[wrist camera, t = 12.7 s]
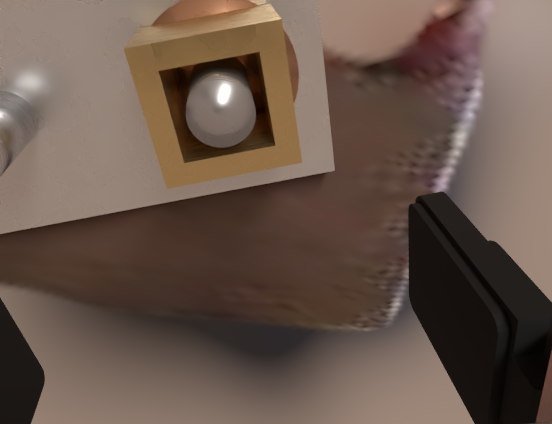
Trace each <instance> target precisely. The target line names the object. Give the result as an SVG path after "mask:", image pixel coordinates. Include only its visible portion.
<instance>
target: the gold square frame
mask: <svg viewBox="0 0 552 424" xmlns="http://www.w3.org/2000/svg"><path fill="white" fill-rule="evenodd" d="M124 52H125V55H126V59H127V62H128V65H129V68H130V71H131V75H132V78H133V81H134V84H135V88H136V91H137V94H138V97H139V100H140V104H141V107H142V110H143V113H144V117H145V120H146V123H147V126H148V129H149V133H150V136H151V139H152V142H153V146H154V149H155V152H156V155H157V158H158V162H159V165H160V168H161V171H162V175H163V178H164V181H165V184H166V187H167V189H169V188H174V187H179V186H184V185H190V184H195V183H200V182H205V181H210V180H215V179H221V178H226V177H231V176H236V175H241V174H246V173H252V172H257V171H262V170H267V169H272V168H277V167H283V166H288V165H293V164H298V163H302V158H301V151H300V144H299V137H298V130H297V123H296V116H295V109H294V102H293V95H292V88H291V80H290V73H289V66H288V59H287V52H286V45H285V38H284V31H283V24H282V19H281V17H280V16H279V15H278V13H277V12H276V11H275V10H274V8H273V7H272V6H271V4H265V5H260V6H255V7H249V8H244V9H239V10H233V11H228V12H223V13H217V14H212V15H207V16H201V17H196V18H191V19H185V20H180V21H175V22H169V23H164V24H159V25H153V26H148V27H142V28H138V29H137V31H136V32H135V33H134V35H133V36H132V38H131V39H130V40H129V42H128V43H127V44H126V46H125V47H124ZM251 53H255V54H256V59H257V65H258V71H259V77H260V82H261V88H262V94H263V99H264V105H265V111H266V113H263V114H257V115H256V120H255V124H254V127H253V129H252V131H251V132H250V134H249V135H248V136H247V137H246V138H245V139H244V140H243V141H241V142H240V143H238V144H236V145H234V146H230V147H224V148H218V147H212V146H209V145H206V144H205V143H203V142H201V141H200V140H198V139H197V138H196V137H195V136H194V135H193V134H192V132H191V131H190V129H189V128H188V124H187V121H186V117H185V113H184V109H183V105H182V102H181V98H180V94H179V90H178V87H177V83H176V79H175V75H174V71H173V68H177V67H182V66H187V65H193V64H198V63H203V62H209V61H214V60H219V59H224V58H230V57H235V56H240V55H246V54H251Z"/></svg>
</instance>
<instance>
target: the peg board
mask: <svg viewBox="0 0 552 424" xmlns="http://www.w3.org/2000/svg"><path fill="white" fill-rule="evenodd" d="M265 4H271V6H272V7H273V8H274V10H275V11H276V12H277V13H278V15H279V16H280V17H281V19H282V24H283V31H284V38H285V45H286V52H287V59H288V66H289V73H290V80H291V88H292V95H293V102H294V109H295V116H296V123H297V130H298V137H299V144H300V151H301V158H302V163H298V164H293V165H288V166H283V167H277V168H272V169H267V170H262V171H257V172H252V173H246V174H241V175H236V176H231V177H226V178H221V179H215V180H210V181H205V182H200V183H195V184H190V185H184V186H179V187H174V188H169V189H167V187H166V184H165V181H164V178H163V175H162V171H161V168H160V165H159V162H158V158H157V155H156V152H155V149H154V146H153V142H152V139H151V136H150V133H149V129H148V126H147V123H146V120H145V117H144V113H143V110H142V107H141V104H140V100H139V97H138V94H137V91H136V88H135V84H134V81H133V78H132V75H131V71H130V68H129V65H128V62H127V59H126V55H125V52H124V47H125V46H126V44H127V43H128V42H129V40H130V39H131V38H132V36H133V35H134V33H135V32H136V31H137V29H138V28H142V27H148V26H153V25H159V24H164V23H169V22H175V21H180V20H185V19H191V18H196V17H201V16H207V15H212V14H217V13H223V12H228V11H233V10H239V9H244V8H249V7H255V6H260V5H265ZM173 71H174V75H175V79H176V83H177V87H178V90H179V94H180V98H181V102H182V105H183V109H184V113H185V117H186V121H187V124H188V128H189V129H190V131H191V132H192V134H193V135H194V136H195V137H196V138H197V139H198V140H200V141H201V142H203V143H205V144H206V145H209V146H212V147H218V148H224V147H230V146H234V145H236V144H238V143H240V142H241V141H243V140H244V139H245V138H246V137H247V136H248V135H249V134H250V132H251V131H252V129H253V127H254V124H255V120H256V115H257V114H263V113H266V111H265V105H264V99H263V94H262V88H261V82H260V77H259V71H258V65H257V59H256V54H255V53H251V54H246V55H240V56H235V57H230V58H224V59H219V60H214V61H209V62H203V63H198V64H193V65H187V66H182V67H177V68H173ZM331 171H335V169H334V159H333V149H332V139H331V129H330V119H329V109H328V98H327V88H326V78H325V68H324V58H323V48H322V38H321V28H320V18H319V8H318V0H0V234H3V233H8V232H14V231H19V230H24V229H29V228H35V227H40V226H45V225H51V224H56V223H61V222H66V221H72V220H77V219H82V218H88V217H93V216H98V215H103V214H109V213H114V212H119V211H125V210H130V209H135V208H140V207H146V206H151V205H156V204H161V203H167V202H172V201H177V200H183V199H188V198H193V197H198V196H204V195H209V194H214V193H220V192H225V191H230V190H235V189H241V188H246V187H251V186H257V185H262V184H267V183H272V182H278V181H283V180H288V179H294V178H299V177H304V176H309V175H315V174H320V173H325V172H331Z"/></svg>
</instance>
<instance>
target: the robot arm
mask: <svg viewBox="0 0 552 424" xmlns="http://www.w3.org/2000/svg"><path fill="white" fill-rule="evenodd" d="M409 297H410V302H411V305H412V308H413V310H414V312H415V314H416V315H417V317H418V319H419V321H420V323H421V325H422V327H423V329H424V330H425V332H426V334H427V336H428V338H429V340H430V342H431V343H432V345H433V347H434V349H435V351H436V352H437V354H438V356H439V358H440V360H441V362H442V364H443V366H444V368H445V369H446V371H447V373H448V375H449V377H450V379H451V381H452V382H453V384H454V386H455V388H456V390H457V392H458V393H459V395H460V397H461V399H462V401H463V403H464V405H465V406H466V408H467V410H468V412H469V414H470V416H471V418H472V419H473V421H474V423H475V424H552V302H551V301H550V300H549V299H548V298H547V297H546V296H545V295H544V293H542V291H541V290H540V289H539V288H538V287H537V286H536V285H535V284H534V282H532V280H531V279H530V278H529V277H528V276H527V275H526V274H525V273H524V272H523V270H521V268H520V267H519V266H518V265H517V264H516V263H515V262H514V261H513V259H512V258H511V257H510V256H509V255H508V254H507V253H506V252H505V251H504V250H503V249H502V247H501V246H500V245H498V244H497V243H496V242H494V241H487V240H486V239H485V237H484V236H483V235H482V234H481V233H480V232H479V231H478V230H477V228H475V226H474V225H473V224H472V223H471V222H470V220H469V219H468V218H467V217H466V216H465V215H464V214H463V213H462V211H461V210H460V209H459V208H458V207H457V206H456V205H455V204H454V202H452V200H451V199H450V198H449V197H448V196H447V194H446V193H444V192H437V193H432V194H427V195H422V196H418V197H417V198H416V203H414V204H410V205H409ZM44 378H45V377H44V371H43V369H42V367H41V365H40V363H39V362H38V360H37V358H36V357H35V355H34V354H33V352H32V350H31V349H30V347H29V345H28V343H27V342H26V340H25V338H24V337H23V335H22V333H21V332H20V330H19V328H18V327H17V325H16V323H15V322H14V320H13V318H12V317H11V315H10V313H9V312H8V310H7V308H6V307H5V305H4V303H3V302H2V300H1V298H0V424H31V421H32V418H33V416H34V413H35V409H36V407H37V404H38V401H39V398H40V395H41V392H42V389H43V386H44V381H45V379H44Z"/></svg>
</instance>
